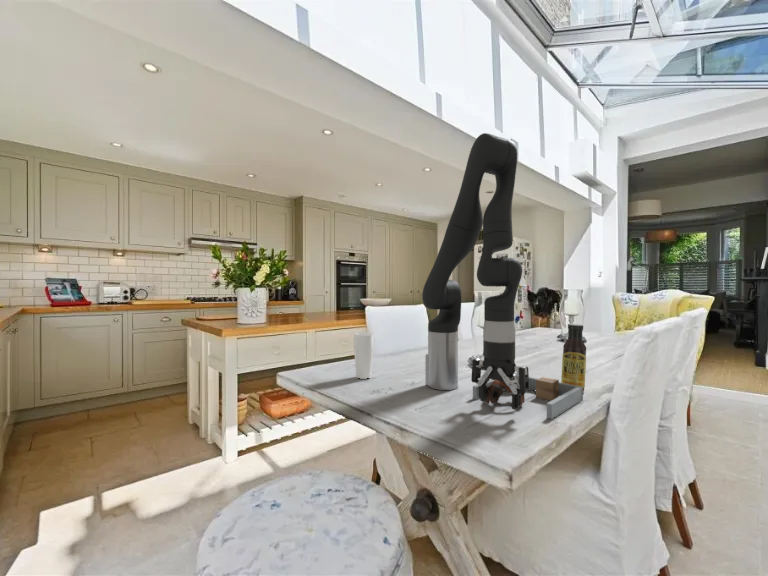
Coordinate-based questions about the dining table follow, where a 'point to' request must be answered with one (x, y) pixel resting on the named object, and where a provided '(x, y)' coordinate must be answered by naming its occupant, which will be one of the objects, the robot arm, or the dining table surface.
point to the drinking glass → (363, 354)
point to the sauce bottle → (574, 357)
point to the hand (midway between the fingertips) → (498, 404)
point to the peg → (516, 378)
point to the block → (547, 388)
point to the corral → (566, 399)
